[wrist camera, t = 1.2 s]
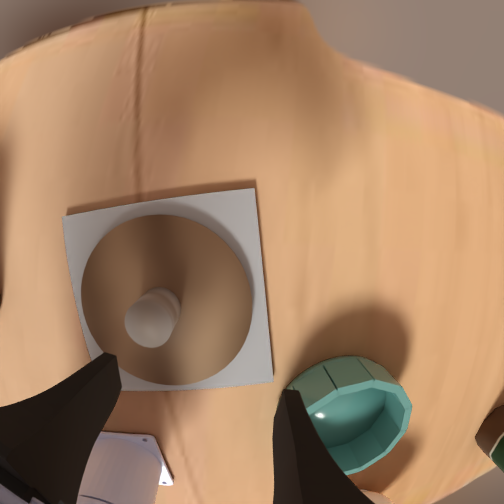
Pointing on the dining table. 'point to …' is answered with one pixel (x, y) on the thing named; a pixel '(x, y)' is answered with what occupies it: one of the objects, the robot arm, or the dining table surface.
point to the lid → (166, 299)
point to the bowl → (354, 409)
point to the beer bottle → (493, 437)
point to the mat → (227, 228)
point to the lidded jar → (377, 497)
